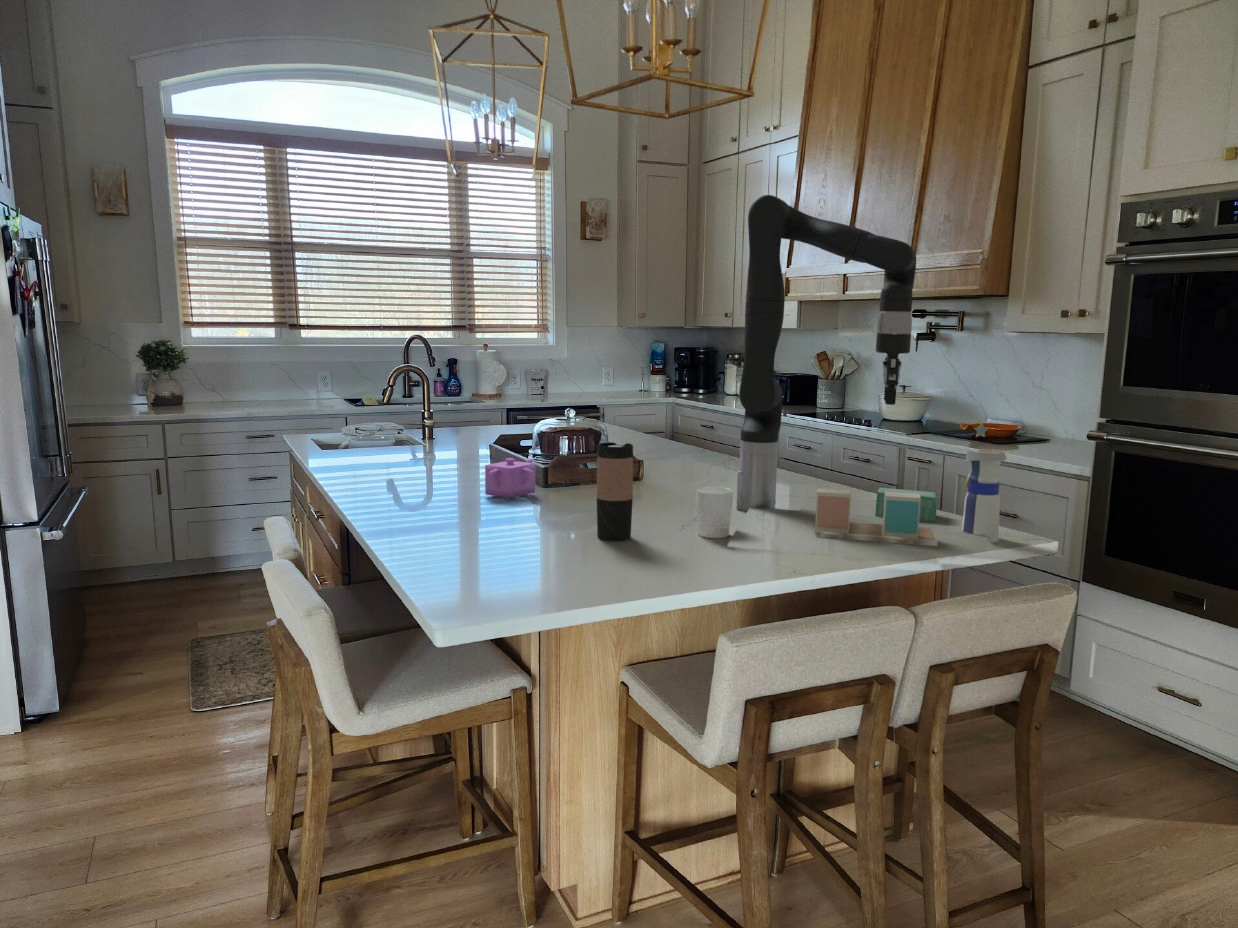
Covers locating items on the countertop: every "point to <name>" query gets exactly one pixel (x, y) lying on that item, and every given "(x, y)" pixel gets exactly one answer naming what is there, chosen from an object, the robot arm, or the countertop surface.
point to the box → (926, 505)
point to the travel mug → (614, 491)
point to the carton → (901, 515)
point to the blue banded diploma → (983, 492)
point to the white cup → (714, 511)
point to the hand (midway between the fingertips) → (889, 403)
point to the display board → (880, 535)
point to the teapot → (510, 478)
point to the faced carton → (833, 510)
